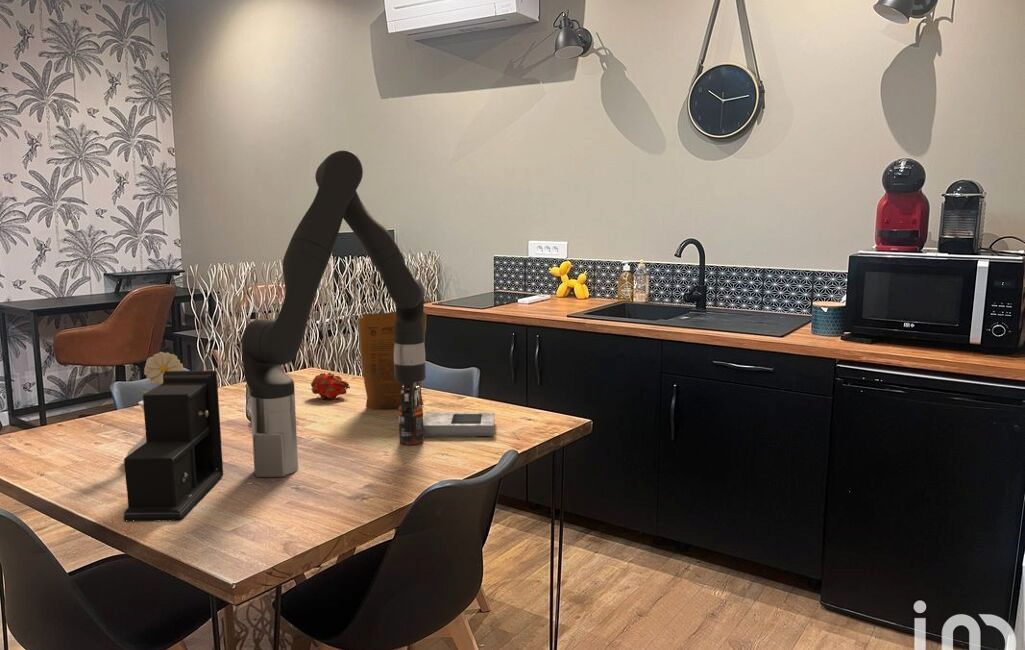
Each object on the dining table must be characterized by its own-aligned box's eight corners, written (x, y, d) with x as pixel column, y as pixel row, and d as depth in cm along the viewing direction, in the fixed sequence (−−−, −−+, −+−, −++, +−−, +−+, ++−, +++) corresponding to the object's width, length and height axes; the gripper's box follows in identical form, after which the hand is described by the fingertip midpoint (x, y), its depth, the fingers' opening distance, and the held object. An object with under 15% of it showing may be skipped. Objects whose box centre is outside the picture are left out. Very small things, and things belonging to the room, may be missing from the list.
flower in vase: (122, 470, 167) (112, 359, 163) (132, 454, 178) (124, 349, 174) (186, 465, 170) (178, 355, 166) (192, 449, 181) (185, 346, 177)
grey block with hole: (493, 437, 191) (493, 425, 190) (421, 437, 191) (421, 425, 190) (494, 423, 203) (494, 412, 202) (426, 423, 203) (426, 412, 202)
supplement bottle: (426, 438, 190) (425, 394, 188) (420, 446, 184) (419, 400, 182) (402, 438, 190) (401, 393, 188) (396, 445, 184) (395, 400, 182)
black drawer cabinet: (182, 521, 140) (172, 397, 137) (122, 522, 140) (111, 398, 136) (224, 476, 164) (218, 369, 160) (173, 477, 163) (165, 370, 160)
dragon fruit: (309, 401, 231) (347, 408, 230) (302, 391, 224) (341, 398, 222) (318, 376, 235) (355, 383, 234) (311, 365, 227) (350, 372, 226)
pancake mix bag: (428, 409, 216) (426, 312, 212) (360, 411, 214) (356, 313, 210) (428, 403, 223) (426, 308, 218) (362, 405, 221) (358, 309, 216)
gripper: (421, 367, 177) (423, 437, 179) (428, 354, 191) (429, 419, 193) (389, 367, 177) (391, 437, 179) (398, 354, 191) (400, 419, 193)
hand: (411, 427), depth 186 cm, fingers closed on supplement bottle, 6 cm apart
